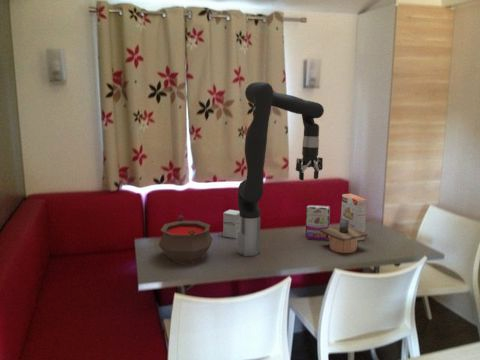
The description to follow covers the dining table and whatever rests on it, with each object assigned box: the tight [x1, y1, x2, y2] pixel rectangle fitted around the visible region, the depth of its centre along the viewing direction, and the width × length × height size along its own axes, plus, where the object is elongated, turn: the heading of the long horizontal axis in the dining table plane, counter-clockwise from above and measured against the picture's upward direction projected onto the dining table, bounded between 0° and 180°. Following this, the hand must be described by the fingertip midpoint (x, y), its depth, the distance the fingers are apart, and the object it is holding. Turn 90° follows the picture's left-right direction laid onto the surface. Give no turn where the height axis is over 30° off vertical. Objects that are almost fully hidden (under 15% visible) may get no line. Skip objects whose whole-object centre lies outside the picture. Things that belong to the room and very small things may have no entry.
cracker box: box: [340, 193, 368, 242], centre depth 210 cm, size 14×6×21 cm, turn 17°
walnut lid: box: [320, 218, 368, 241], centre depth 193 cm, size 15×15×6 cm
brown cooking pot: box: [158, 215, 213, 264], centre depth 181 cm, size 24×24×16 cm
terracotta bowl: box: [329, 236, 358, 254], centre depth 195 cm, size 12×12×7 cm
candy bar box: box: [305, 204, 331, 241], centre depth 207 cm, size 11×5×16 cm, turn 73°
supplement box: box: [222, 209, 240, 239], centre depth 210 cm, size 7×7×13 cm
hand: (308, 179), depth 200 cm, fingers open, 8 cm apart
